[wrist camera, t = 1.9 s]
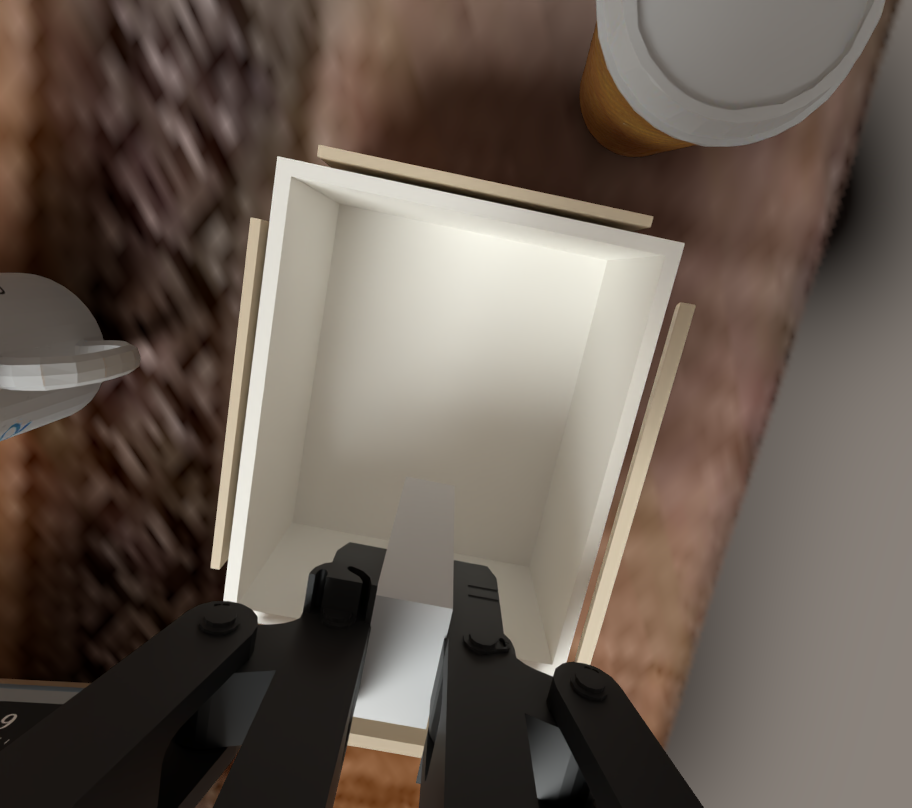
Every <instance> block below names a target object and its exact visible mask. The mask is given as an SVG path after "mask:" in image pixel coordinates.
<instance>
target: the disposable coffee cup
mask: <svg viewBox="0 0 912 808" xmlns="http://www.w3.org/2000/svg"><path fill="white" fill-rule="evenodd" d="M884 4H885V0H596V14H597V22H596V26H595V30H594V34H593V38H592V41H591V45H590V50H589V53H588V57H587V61H586V65H585V69H584V72H583V76H582V80H581V84H580V97H579V98H580V106H581V112H582V115H583V118H584V121H585V123H586V126H587V127H588V129H589V131H590V133H591V134H592V135H593V136H594V137H595V139H596V140H597V141H598V142H599V143H600V144H601V145H603V146H604V147H606V148H607V149H608V150H610V151H612V152H614V153H616V154H619V155H624V156H628V157H643V156H648V155H653V154H656V153H661V152H665V151H670V150H675V149H679V148H684V147H688V146H693V145H700V146H704V147H729V146H742V145H747V144H751V143H755V142H758V141H761V140H764V139H767V138H770V137H773V136H776V135H777V134H779V133H781V132H783V131H785V130H787V129H789V128H791V127H792V126H794V125H796V124H798V123H800V122H801V121H802V120H804V119H805V118H806V117H807V116H808V115H810V114H811V113H812V112H813V111H814V110H816V109H817V108H818V107H819V106H820V105H822V104H823V103H824V102H825V101H826V100H828V99H829V97H830V96H831V95H832V94H833V92H834V91H835V90H836V89H837V87H838V86H839V85H840V84H841V82H842V81H843V80H844V79H845V77H846V76H847V75H848V73H849V72H850V70H851V68H852V66H853V65H854V63H855V61H856V60H857V59H858V57H859V56H860V55H861V53H862V51H863V49H864V47H865V45H866V44H867V42H868V40H869V38H870V36H871V34H872V32H873V31H874V29H875V27H876V25H877V23H878V21H879V19H880V17H881V15H882V11H883V7H884Z"/></svg>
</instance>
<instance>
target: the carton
mask: <svg viewBox="0 0 912 808" xmlns="http://www.w3.org/2000/svg"><path fill="white" fill-rule="evenodd" d="M317 156H318V157H319V158H320V159H322V160H323V161H324V162H325V163H327V164H328V165H329V166H330V167H331V168H330V167H325V166H321V165H316V164H311V163H306V162H302V161H297V160H292V159H288V158H283V157H278V156H277V164H276V173H275V181H274V189H273V197H272V205H271V214H270V222H268V221H265V220H261V219H256V218H251V219H250V228H249V237H248V245H247V254H246V263H245V271H244V280H243V289H242V298H241V306H240V315H239V324H238V332H237V341H236V350H235V359H234V367H233V376H232V385H231V393H230V402H229V411H228V420H227V428H226V437H225V446H224V454H223V463H222V472H221V481H220V489H219V498H218V507H217V515H216V524H215V533H214V542H213V550H212V559H211V568H213V569H218V570H220V568H221V567H222V566H223V565H224V563H225V562H226V561H227V560H228V566H227V574H226V582H225V590H224V598H223V601H231V602H235V603H240V604H243V605H245V606H247V607H249V608H250V609H252V610H253V611H254V613H255V614H256V615H257V617H258V623H260V624H266V625H267V624H281V623H287V622H290V621H294V620H296V619H298V618H300V617H301V615H302V613H303V608H304V602H305V595H306V589H307V583H308V577H309V573H310V572H311V571H312V570H313V569H314V568H315V567H317V566H319V565H321V564H324V563H330V562H332V561H333V559H334V557H335V554H336V552H337V550H338V549H340V548H341V547H343V546H345V545H346V544H348V543H349V542H352V543H357V544H363V545H368V546H373V547H379V548H384V549H387V547H388V543H389V540H390V536H391V532H392V528H393V524H394V520H395V517H396V513H397V509H398V505H399V501H400V497H401V494H402V490H403V486H404V482H405V478H406V477H411V478H416V479H422V480H427V481H432V482H437V483H442V484H448V485H453V486H455V497H454V560H457V561H462V562H467V563H473V564H478V565H483V566H487V567H488V568H489V569H490V570H491V572H492V573H493V574H494V576H495V577H496V578H497V585H498V593H499V603H500V608H501V616H502V623H503V631H504V634H505V635H506V636H507V637H508V638H509V639H510V640H511V642H512V644H513V646H514V649H515V653H516V658H517V659H519V660H520V661H522V662H523V663H524V664H526V665H528V666H530V667H532V668H534V669H536V670H538V671H541V672H543V673H545V674H548V675H550V676H553V675H554V672H555V668H557V667H558V666H560V665H561V664H562V663H566V662H567V658H568V655H569V651H570V648H571V644H572V640H573V637H574V633H575V630H576V626H577V623H578V619H579V616H580V612H581V609H582V605H583V602H584V598H585V595H586V591H587V587H588V584H589V580H590V577H591V573H592V570H593V566H594V563H595V559H596V556H597V552H598V549H599V545H600V542H601V538H602V535H603V531H604V527H605V524H606V520H607V517H608V513H609V510H610V506H611V503H612V499H613V496H614V492H615V489H616V485H617V482H618V478H619V474H620V471H621V467H622V464H623V460H624V457H625V453H626V450H627V446H628V443H629V439H630V436H631V432H632V429H633V425H634V421H635V418H636V414H637V411H638V407H639V404H640V400H641V397H642V393H643V390H644V386H645V383H646V379H647V376H648V372H649V368H650V365H651V361H652V358H653V354H654V351H655V347H656V344H657V340H658V337H659V333H660V330H661V326H662V323H663V319H664V315H665V312H666V308H667V305H668V301H669V298H670V294H671V291H672V287H673V284H674V280H675V277H676V273H677V270H678V266H679V262H680V259H681V255H682V252H683V248H684V245H685V243H682V242H677V241H672V240H668V239H663V238H658V237H654V236H649V235H644V234H639V233H635V232H632V231H637V230H641V229H645V228H649V227H651V224H652V220H653V217H654V216H649V215H644V214H640V213H635V212H630V211H626V210H621V209H616V208H612V207H607V206H602V205H598V204H593V203H588V202H584V201H579V200H574V199H570V198H565V197H560V196H556V195H551V194H546V193H542V192H537V191H532V190H528V189H523V188H518V187H514V186H509V185H504V184H500V183H495V182H490V181H486V180H481V179H476V178H472V177H467V176H463V175H458V174H453V173H449V172H444V171H439V170H435V169H430V168H425V167H421V166H416V165H411V164H407V163H402V162H397V161H393V160H388V159H383V158H379V157H374V156H369V155H365V154H360V153H355V152H351V151H346V150H341V149H337V148H332V147H327V146H323V145H319V146H318V154H317Z"/></svg>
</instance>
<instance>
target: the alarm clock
mask: <svg viewBox="0 0 912 808" xmlns="http://www.w3.org/2000/svg"><path fill="white" fill-rule="evenodd" d="M90 684H91V683H76V682H58V681H39V680H20V679H2V678H0V751H1V750H3V749H4V748H5V747H7V746H8V745H9V744H11V743H12V742H13V741H15V740H16V739H17V738H19V737H20V736H21V735H23V734H24V733H25V732H27V731H28V730H29V729H31V728H32V727H33V726H35V725H36V724H37V723H39V722H40V721H41V720H43V719H44V718H45V717H47V716H48V715H49V714H51V713H52V712H53V711H55V710H56V709H57V708H59V707H60V706H61V705H63V704H64V703H65V702H67V701H68V700H69V699H71V698H72V697H73V696H75V695H76V694H77V693H79V692H80V691H81V690H83V689H84V688H86V687H87V686H88V685H90Z"/></svg>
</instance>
